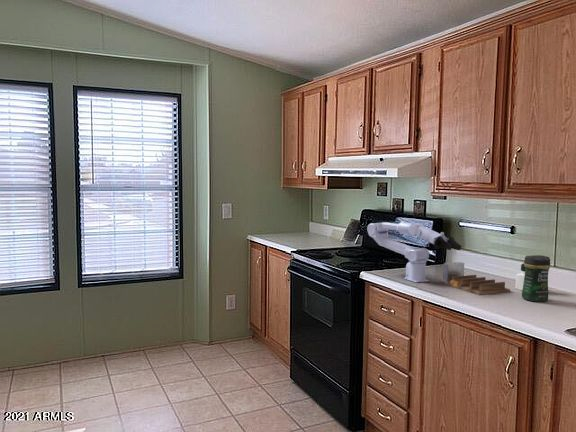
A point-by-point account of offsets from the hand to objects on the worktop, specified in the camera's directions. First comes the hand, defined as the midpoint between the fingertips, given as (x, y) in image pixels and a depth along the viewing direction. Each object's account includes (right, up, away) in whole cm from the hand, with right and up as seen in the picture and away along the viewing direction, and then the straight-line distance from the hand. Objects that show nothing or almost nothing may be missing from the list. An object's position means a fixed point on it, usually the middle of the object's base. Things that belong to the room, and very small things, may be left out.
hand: (455, 248), depth 218 cm
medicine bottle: (+32, -19, 0) cm, 37 cm away
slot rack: (+11, -18, +3) cm, 21 cm away
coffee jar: (+27, -20, -18) cm, 38 cm away
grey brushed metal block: (+5, -17, +17) cm, 25 cm away
